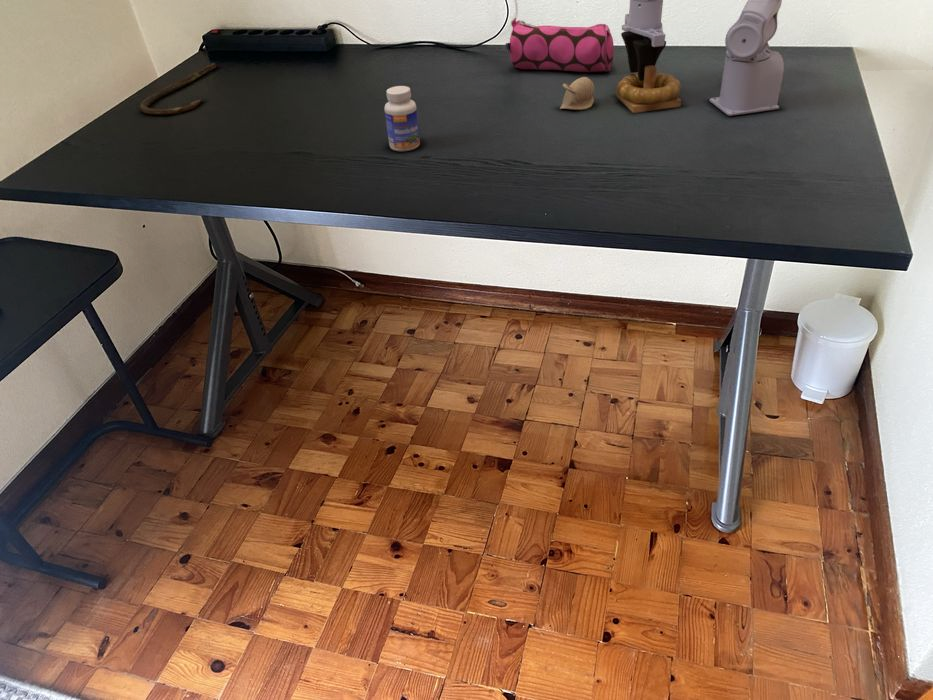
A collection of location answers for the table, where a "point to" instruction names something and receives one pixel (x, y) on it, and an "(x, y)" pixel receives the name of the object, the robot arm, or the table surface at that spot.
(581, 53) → the pencil case
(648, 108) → the stand
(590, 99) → the decorative ornament
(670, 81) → the ring
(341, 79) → the table surface
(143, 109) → the hook
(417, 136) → the pill bottle
